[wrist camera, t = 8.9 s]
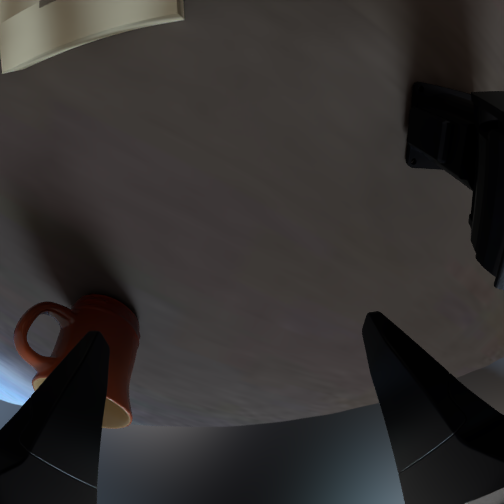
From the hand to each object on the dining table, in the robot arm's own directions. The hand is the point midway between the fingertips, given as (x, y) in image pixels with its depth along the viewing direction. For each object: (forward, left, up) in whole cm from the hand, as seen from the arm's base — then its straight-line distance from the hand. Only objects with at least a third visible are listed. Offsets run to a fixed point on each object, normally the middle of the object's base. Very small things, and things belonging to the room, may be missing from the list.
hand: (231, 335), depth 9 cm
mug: (+14, +11, -13) cm, 22 cm away
